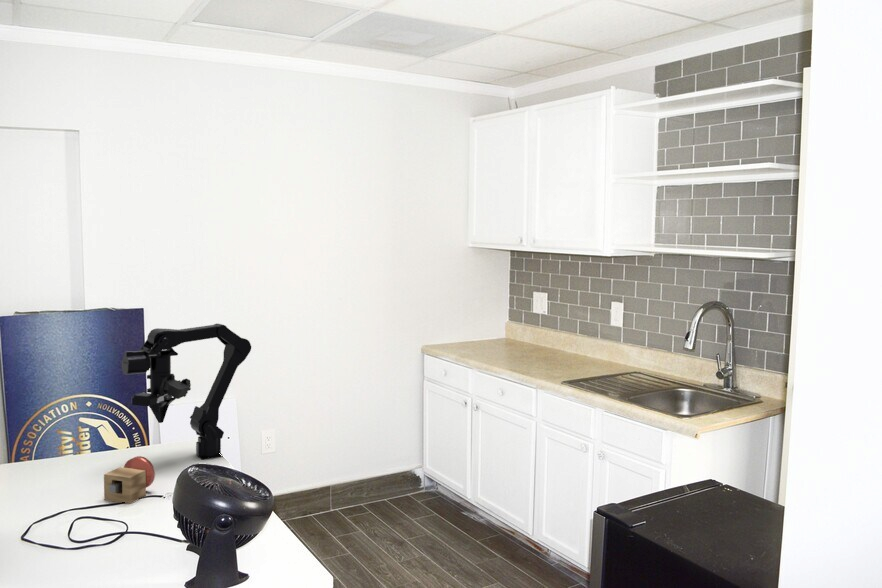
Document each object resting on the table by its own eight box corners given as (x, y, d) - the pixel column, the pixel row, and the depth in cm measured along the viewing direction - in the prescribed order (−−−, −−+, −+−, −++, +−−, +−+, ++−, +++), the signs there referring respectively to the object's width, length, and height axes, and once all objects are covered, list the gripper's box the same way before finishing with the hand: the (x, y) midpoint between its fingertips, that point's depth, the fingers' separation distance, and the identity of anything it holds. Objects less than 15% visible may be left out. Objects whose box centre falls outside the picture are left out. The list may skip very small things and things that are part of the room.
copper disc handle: (127, 485, 192) (127, 454, 191) (154, 489, 189) (154, 458, 188) (98, 500, 181) (97, 466, 180) (127, 504, 179) (126, 470, 178)
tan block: (120, 491, 188) (120, 466, 188) (145, 495, 186) (145, 470, 186) (104, 499, 183) (103, 474, 182) (130, 503, 180) (129, 477, 180)
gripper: (163, 379, 197) (163, 433, 199) (202, 367, 215) (202, 417, 217) (129, 376, 200) (130, 429, 202) (171, 365, 218) (171, 414, 219)
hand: (160, 422), depth 210 cm, fingers closed
